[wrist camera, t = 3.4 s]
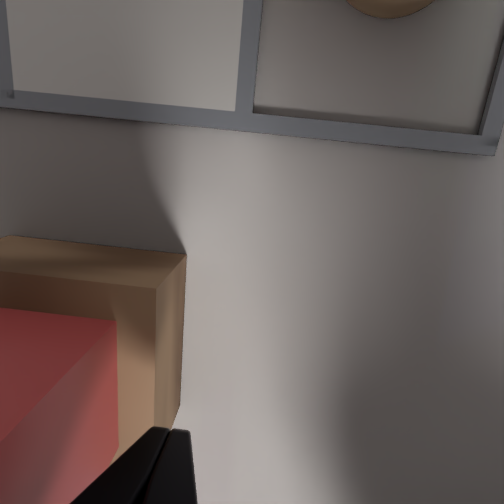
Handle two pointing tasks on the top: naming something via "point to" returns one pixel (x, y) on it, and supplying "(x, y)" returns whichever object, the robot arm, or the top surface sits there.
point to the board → (176, 70)
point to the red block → (55, 405)
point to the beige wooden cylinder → (389, 7)
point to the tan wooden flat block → (111, 314)
